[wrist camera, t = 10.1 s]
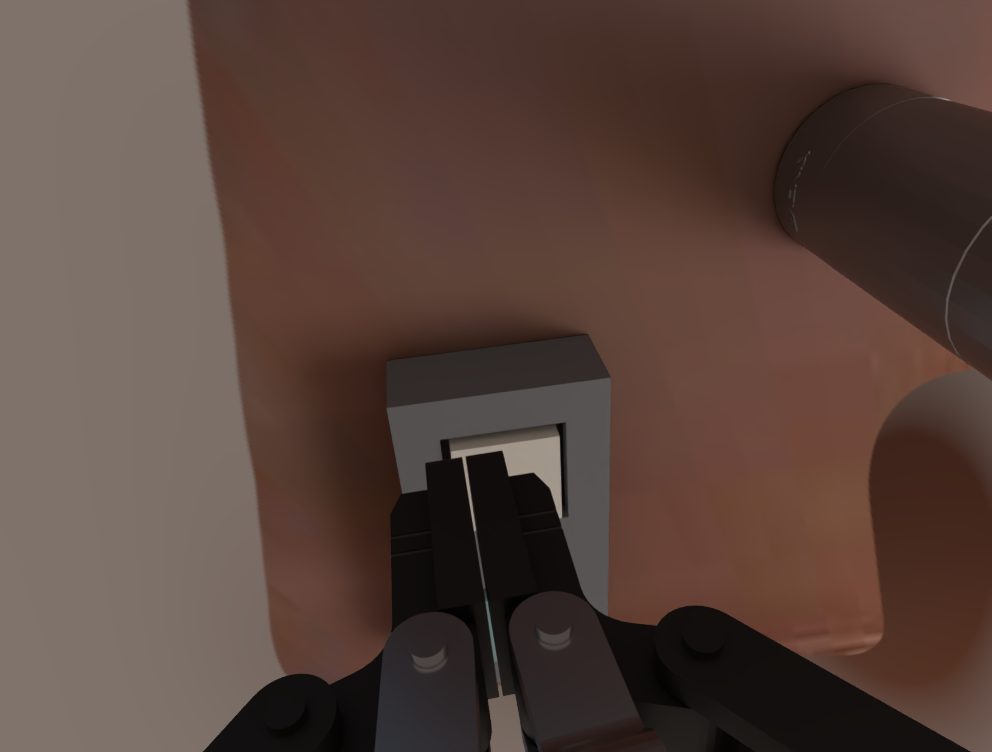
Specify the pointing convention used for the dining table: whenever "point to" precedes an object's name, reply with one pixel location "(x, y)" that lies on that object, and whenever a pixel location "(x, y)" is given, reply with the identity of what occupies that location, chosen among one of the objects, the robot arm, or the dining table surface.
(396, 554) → the robot arm
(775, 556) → the dining table surface
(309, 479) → the dining table surface
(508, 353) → the key box
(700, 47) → the dining table surface
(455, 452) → the cream key
